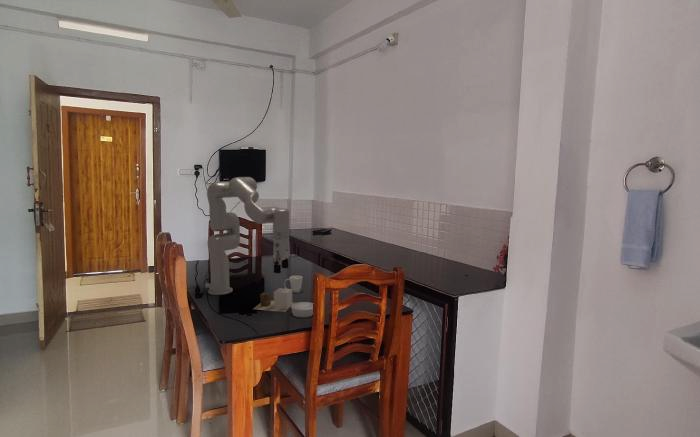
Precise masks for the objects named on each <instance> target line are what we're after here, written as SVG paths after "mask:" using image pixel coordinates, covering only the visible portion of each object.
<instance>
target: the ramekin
mask: <svg viewBox="0 0 700 437" xmlns="http://www.w3.org/2000/svg"><path fill="white" fill-rule="evenodd" d="M313 304H314V303H313V302H309V301H298V302H295V303H294V304H293V305H292V306H291V307H290V308H291V314H292V316H293V317H295V318H296V317H297V318H310V317H313V316H314V315H313ZM312 315H313V316H312Z"/></svg>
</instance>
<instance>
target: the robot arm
mask: <svg viewBox="0 0 700 437" xmlns="http://www.w3.org/2000/svg"><path fill="white" fill-rule="evenodd" d="M257 188H258V183H257V181H256V180H255V179H254V178H253V177H251V176H237V177H233V178H232V179H230V180H229V181H214V182H211V183H210V184H209V185H208V187H207V191H206V195H207V196H206V197H207V201H208V206H209V207H208V208H209V227H210V229H211V230H212V231H213V232H221V233H216V234H213V235H211V236H210V237H209V238H208V239H207V248H208V252H209V264H210V266H209V268H210V282H209V283H208V282H206V283H205V285H204V287H205V288H208V290H207V293H208V294H209V295H213V296H221V295H222V296H223V295H227V294H230V293H232V292H233V288H232V287H230V262H229V260H230V259H229V257H228V254H227V253H226V251H230V250H235V249H238V247H239V246H240V243H241V237H240V236H241V232H240V231H241V227H240V226H241V225H240V219H239V217H238V215H237V214H236V213H234V212H227V205H226V202H225V200H224V198H227V199H229V198H238V199H239V200H240V201H241V202H242V203H244V204H243V206H244V212H245V214H246V215H247V216H248V217H249V219H250V220H252V221H253V223H256V224H257V225H258V224H259V225H263V224H264V225H265V224H272V239H273V252H272V254H273V255H272V260H273V261H272V262H273V273H274V274H281V272H282V269H289V257H291V247H290V246H291V245H290V211H289V209H288V208H284V207H283V208H282V207H281V208H280V207H278V206H267V207H259V206H258V205H257V204H256V203H257V202H258V200H259V199H260V194H259V192H258V191H257ZM224 231H226V232H224ZM222 232H223V233H222Z"/></svg>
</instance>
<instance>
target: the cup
mask: <svg viewBox="0 0 700 437" xmlns="http://www.w3.org/2000/svg"><path fill="white" fill-rule="evenodd" d="M286 281H289V282H290V287H291V288H290V289H292V293H298V294H299V293H300V292H301V289H302V285H303V276H302V275H291V276H289V278H286V279H285V280H284V283H283V286H284V289H288V288H287V287H286Z"/></svg>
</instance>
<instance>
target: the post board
mask: <svg viewBox="0 0 700 437" xmlns="http://www.w3.org/2000/svg"><path fill="white" fill-rule="evenodd" d="M259 298H260V303H259V304H258V305H256V306H255V307H253V308H252V310H258V311H259V310H260V311H267V312H268V311H269V312H270V311H271V312H281V313H286V312H287V311H288V310H289V309H290V308H291V306H290V307H289V308H288V309H278V308H274V300H272V296H271V292H262V293H260V297H259ZM295 303H296V302H295V301H294V302H293V301H292V305H293V304H295Z"/></svg>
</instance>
